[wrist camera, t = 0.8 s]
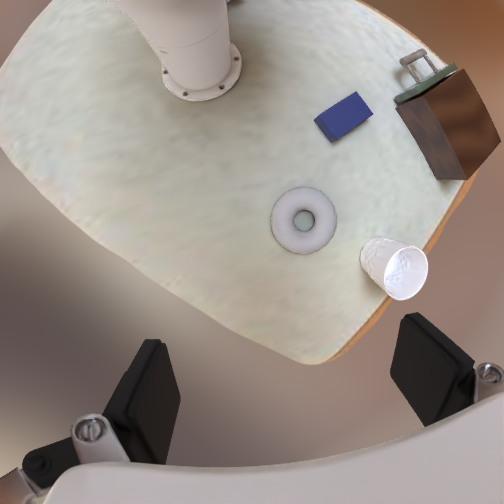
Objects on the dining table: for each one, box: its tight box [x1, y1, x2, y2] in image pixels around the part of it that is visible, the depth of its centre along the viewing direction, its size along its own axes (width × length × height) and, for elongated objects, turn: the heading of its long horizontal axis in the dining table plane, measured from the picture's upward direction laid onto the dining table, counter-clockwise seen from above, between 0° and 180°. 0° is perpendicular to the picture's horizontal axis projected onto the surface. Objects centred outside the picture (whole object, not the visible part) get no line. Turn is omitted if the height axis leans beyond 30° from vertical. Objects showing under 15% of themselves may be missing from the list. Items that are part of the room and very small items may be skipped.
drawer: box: [394, 49, 457, 103], centre depth 33 cm, size 18×14×7 cm
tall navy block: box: [314, 92, 373, 142], centre depth 36 cm, size 8×4×3 cm, turn 128°
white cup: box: [360, 237, 428, 300], centre depth 38 cm, size 8×8×10 cm
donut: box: [271, 187, 337, 254], centre depth 40 cm, size 10×3×10 cm
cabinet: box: [395, 69, 501, 180], centre depth 34 cm, size 15×15×9 cm
